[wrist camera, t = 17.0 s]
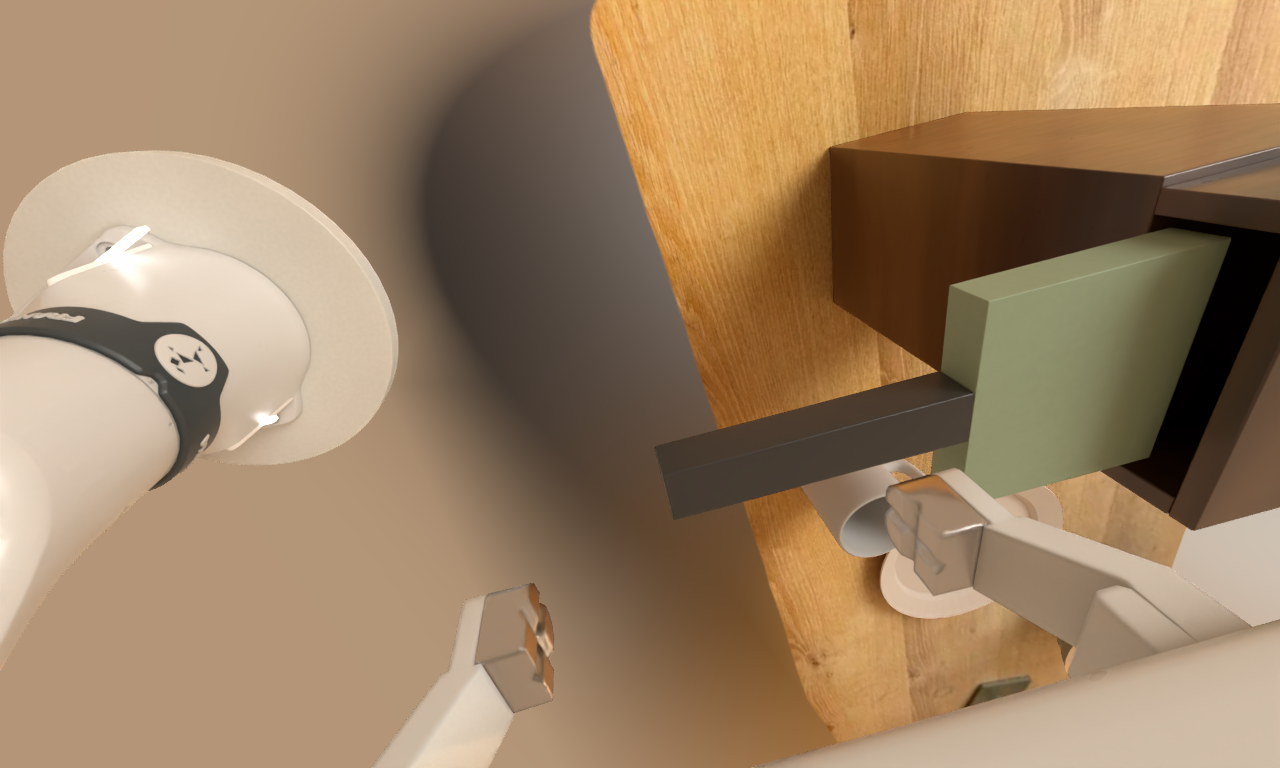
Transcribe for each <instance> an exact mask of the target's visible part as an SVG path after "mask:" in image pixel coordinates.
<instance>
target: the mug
mask: <svg viewBox="0 0 1280 768" xmlns="http://www.w3.org/2000/svg"><path fill="white" fill-rule="evenodd" d="M892 472H901V473H904V474H906V475H908V476H909V477H911V478H912V479H915V478H918V477H922V476H925V474H924V473H923V472H921V471H920V470H919V469H918V468H917V467H915V466H914V465H913V464H911V463H909V462H907V461H905V460H902V459H901V460H897V461H893V462H890V463H886V464H882V465H878V466H875V467H871V468H867V469H864V470H860V471H856V472H852V473H849V474H845V475H841V476H837V477H834V478H830V479H826V480H822V481H819V482H815V483H811V484H808V485H804V486H800V487H801V488H802V490H803V491H804V493H805V494H806V496H807V497H808V499H809V500H810V502H811V503H812V505H813V506H814V508H815V509H816V511H817V512H818V514H819V515H820V517H821V518H822V520H823V521H824V523H825V524H826V526H827V527H828V529H829V530H830V532H831V533H832V535H833V536H834V538H835V540H836V541H837V543H838V544H839V545H840V547H841V548H842V549H843V550H844V551H845V552H847V553H848V554H850V555H852V556H856V557H862V558H868V557H875V556H879V555H883V554H885V553H888V552H890V551H892V550H894V549H896V548H895V547H894V545H893V543H892V542H891V540H890V538H889V536H888V533H887V530H886V526H885V513H886V511H887V510H888V509H889V507H890V506H891V505H890V504H889V503H888V502H887V500H886V499H885V496H886V490H887V488H888V486H890V485H894V484H897V483H899V482H898V480H897V479H896V478H895V477H894V476H893V475H892V474H891V473H892Z"/></svg>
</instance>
